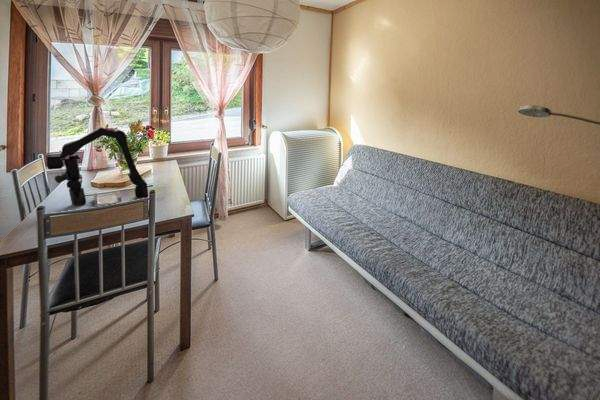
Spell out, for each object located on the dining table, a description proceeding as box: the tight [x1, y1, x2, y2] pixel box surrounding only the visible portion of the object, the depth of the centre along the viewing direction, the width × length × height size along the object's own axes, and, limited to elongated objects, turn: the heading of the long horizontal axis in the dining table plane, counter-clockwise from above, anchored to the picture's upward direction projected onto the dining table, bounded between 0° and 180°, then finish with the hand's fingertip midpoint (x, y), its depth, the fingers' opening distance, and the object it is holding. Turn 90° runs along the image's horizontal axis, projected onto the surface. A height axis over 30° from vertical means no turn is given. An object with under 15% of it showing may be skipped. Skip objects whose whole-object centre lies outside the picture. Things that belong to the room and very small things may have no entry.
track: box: [93, 190, 123, 207], centre depth 191 cm, size 13×14×4 cm
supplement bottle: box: [68, 186, 87, 207], centre depth 184 cm, size 7×7×12 cm
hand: (77, 195), depth 185 cm, fingers closed on supplement bottle, 7 cm apart
